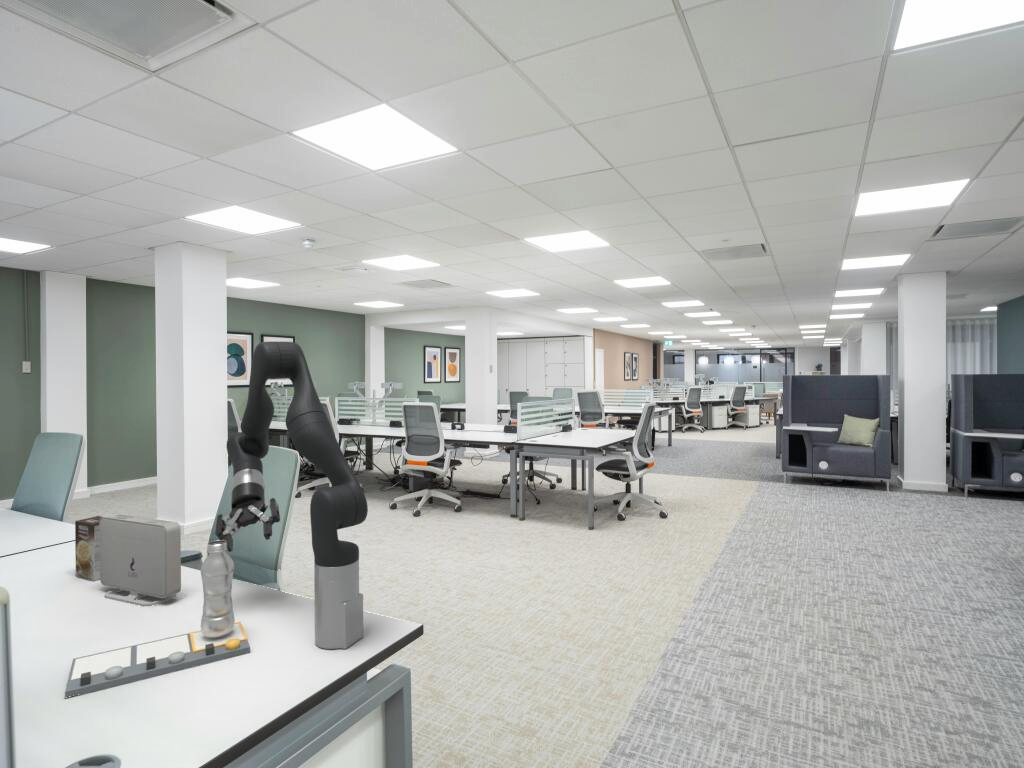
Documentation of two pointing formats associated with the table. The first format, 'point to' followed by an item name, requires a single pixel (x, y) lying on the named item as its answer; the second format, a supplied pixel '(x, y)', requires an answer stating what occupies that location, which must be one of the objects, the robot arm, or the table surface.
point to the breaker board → (152, 659)
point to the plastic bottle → (217, 591)
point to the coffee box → (87, 548)
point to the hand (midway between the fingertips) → (248, 543)
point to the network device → (140, 558)
